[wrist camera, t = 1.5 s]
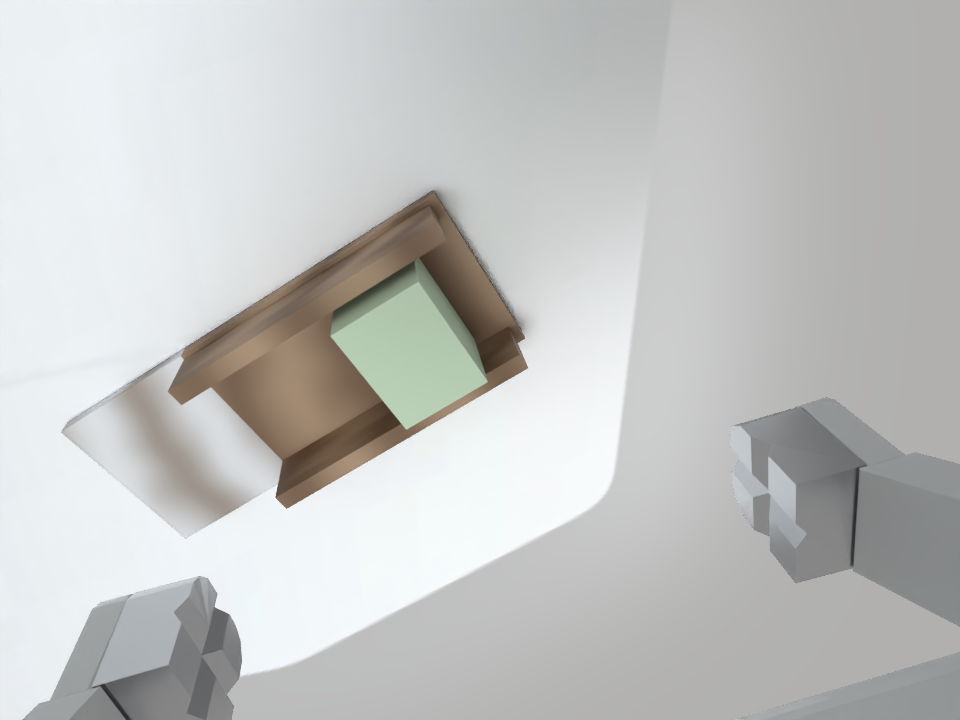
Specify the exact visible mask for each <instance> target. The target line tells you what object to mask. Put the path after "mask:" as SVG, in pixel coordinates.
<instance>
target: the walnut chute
mask: <svg viewBox="0 0 960 720" xmlns="http://www.w3.org/2000/svg"><path fill="white" fill-rule="evenodd" d="M418 258H420V260H421V261H422V263H423V264H424V266H425V267H426V269H427V270H428V272H429V273H430V274H431V276H432V277H433V279H434V280H435V282H436V283H437V285H438V286H439V288H440V289H441V291H442V292H443V294H444V295H445V297H446V298H447V299H448V301H449V302H450V304H451V305H452V307H453V308H454V310H455V311H456V313H457V314H458V316H459V317H460V319H461V320H462V322H463V323H464V325H465V326H466V327H467V329H468V330H469V332H470V333H471V335H472V336H473V338H474V339H475V342H476V345H477V349H478V352H479V355H480V358H481V361H482V365H483V368H484V371H485V374H486V377H487V380H488V382H487V383H485V384H484V385H482V386H480V387H479V388H477V389H475V390H473V391H472V392H470V393H468V394H467V395H465V396H463V397H461V398H460V399H458V400H456V401H455V402H453V403H451V404H450V405H448V406H446V407H444V408H443V409H441V410H439V411H438V412H436V413H434V414H432V415H431V416H429V417H427V418H426V419H424V420H422V421H420V422H419V423H417V424H415V425H414V426H412V427H410V428H408V429H407V430H406V429H405V427H404V426H403V425H402V424H401V423H400V421H399V420H398V419H397V418H396V416H395V415H394V414H393V413H392V411H391V410H390V409H389V408H388V407H387V405H386V404H385V403H384V402H383V400H382V399H381V398H380V397H379V395H378V394H377V393H376V392H375V391H374V389H373V388H372V387H371V386H370V384H369V383H368V382H367V381H366V379H365V378H364V377H363V376H362V375H361V373H360V372H359V371H358V370H357V368H356V367H355V366H354V365H353V363H352V362H351V361H350V360H349V359H348V357H347V356H346V355H345V354H344V352H343V351H342V350H341V349H340V347H339V346H338V345H337V344H336V343H335V341H334V340H333V339H332V338H331V336H330V334H331V325H332V316H333V311H334V310H336V309H337V308H339V307H341V306H342V305H344V304H345V303H347V302H349V301H350V300H352V299H353V298H355V297H357V296H358V295H360V294H361V293H363V292H365V291H366V290H368V289H369V288H371V287H373V286H374V285H376V284H378V283H379V282H381V281H382V280H384V279H386V278H387V277H389V276H390V275H392V274H394V273H395V272H397V271H398V270H400V269H402V268H403V267H405V266H406V265H408V264H410V263H411V262H413V261H415V260H416V259H418ZM523 339H525V337H524V335H523V333H522V331H521V329H520V327H519V326H518V324H517V323H516V321H515V320H514V318H513V316H512V315H511V313H510V312H509V310H508V308H507V307H506V305H505V304H504V302H503V300H502V299H501V297H500V296H499V294H498V293H497V291H496V289H495V288H494V286H493V285H492V283H491V281H490V280H489V278H488V277H487V275H486V274H485V272H484V270H483V269H482V267H481V266H480V264H479V262H478V261H477V259H476V258H475V256H474V254H473V253H472V251H471V250H470V248H469V247H468V245H467V243H466V242H465V240H464V239H463V237H462V235H461V234H460V232H459V231H458V229H457V227H456V226H455V224H454V223H453V221H452V220H451V218H450V216H449V215H448V213H447V212H446V210H445V208H444V207H443V205H442V204H441V202H440V201H439V199H438V197H437V196H436V194H435V193H434V191H431V192H430V193H428V194H427V195H425V196H424V197H422V198H420V199H419V200H417V201H416V202H414V203H413V204H411V205H409V206H408V207H406V208H405V209H403V210H402V211H400V212H398V213H397V214H395V215H394V216H392V217H391V218H389V219H387V220H386V221H384V222H383V223H381V224H379V225H378V226H376V227H375V228H373V229H372V230H370V231H368V232H367V233H365V234H364V235H362V236H361V237H359V238H357V239H356V240H354V241H353V242H351V243H350V244H348V245H346V246H345V247H343V248H342V249H340V250H339V251H337V252H335V253H334V254H332V255H331V256H329V257H328V258H326V259H324V260H323V261H321V262H320V263H318V264H316V265H315V266H313V267H312V268H310V269H309V270H307V271H305V272H304V273H302V274H301V275H299V276H298V277H296V278H294V279H293V280H291V281H290V282H288V283H287V284H285V285H283V286H282V287H280V288H279V289H277V290H276V291H274V292H272V293H271V294H269V295H268V296H266V297H265V298H263V299H261V300H260V301H258V302H257V303H255V304H253V305H252V306H250V307H249V308H247V309H246V310H244V311H242V312H241V313H239V314H238V315H236V316H235V317H233V318H231V319H230V320H228V321H227V322H225V323H224V324H222V325H220V326H219V327H217V328H216V329H214V330H213V331H211V332H209V333H208V334H206V335H205V336H203V337H202V338H200V339H198V340H197V341H195V342H194V343H192V344H190V345H189V346H187V347H186V348H184V349H183V350H181V351H179V352H178V353H176V354H175V355H173V356H172V357H170V358H168V359H167V360H165V361H164V362H162V363H161V364H159V365H157V366H156V367H154V368H153V369H151V370H150V371H148V372H146V373H145V374H143V375H142V376H140V377H139V378H137V379H135V380H134V381H132V382H131V383H129V384H127V385H126V386H124V387H123V388H121V389H120V390H118V391H116V392H115V393H113V394H112V395H110V396H109V397H107V398H105V399H104V400H102V401H101V402H99V403H98V404H96V405H94V406H93V407H91V408H90V409H88V410H87V411H85V412H83V413H82V414H80V415H79V416H77V417H76V418H74V419H72V420H71V421H69V422H68V423H67V424H66V426H65V427H64V428H63V430H62V431H61V433H62V434H64V435H65V436H66V437H67V438H68V439H69V440H71V441H72V442H73V443H74V444H75V445H76V446H78V447H79V448H80V449H81V450H82V451H83V452H85V453H86V454H87V455H88V456H89V457H91V458H92V459H93V460H94V461H95V462H96V463H98V464H99V465H100V466H101V467H102V468H103V469H105V470H106V471H107V472H108V473H109V474H110V475H112V476H113V477H114V478H115V479H116V480H117V481H119V482H120V483H121V484H122V485H123V486H124V487H126V488H127V489H128V490H129V491H130V492H131V493H133V494H134V495H135V496H136V497H137V498H138V499H140V500H141V501H142V502H143V503H144V504H145V505H147V506H148V507H149V508H150V509H151V510H153V511H154V512H155V513H156V514H157V515H158V516H160V517H161V518H162V519H163V520H164V521H165V522H167V523H168V524H169V525H170V526H171V527H172V528H174V529H175V530H176V531H177V532H178V533H179V534H181V535H182V536H183V537H184V538H185V539H186V538H188V537H189V536H191V535H193V534H194V533H196V532H198V531H200V530H201V529H203V528H205V527H206V526H208V525H210V524H211V523H213V522H215V521H216V520H218V519H220V518H222V517H223V516H225V515H227V514H228V513H230V512H232V511H233V510H235V509H237V508H239V507H240V506H242V505H244V504H245V503H247V502H249V501H250V500H252V499H254V498H255V497H257V496H259V495H261V494H262V493H264V492H266V491H267V490H269V489H271V488H272V487H274V486H276V485H278V487H277V492H276V499H277V500H278V501H279V502H280V503H281V504H282V505H283V506H284V507H285V508H286V509H287V508H289V507H291V506H292V505H294V504H296V503H297V502H299V501H301V500H303V499H304V498H306V497H308V496H309V495H311V494H313V493H315V492H316V491H318V490H320V489H321V488H323V487H325V486H327V485H328V484H330V483H332V482H333V481H335V480H337V479H339V478H340V477H342V476H344V475H345V474H347V473H349V472H351V471H352V470H354V469H356V468H357V467H359V466H361V465H363V464H364V463H366V462H368V461H370V460H371V459H373V458H375V457H376V456H378V455H380V454H382V453H383V452H385V451H387V450H388V449H390V448H392V447H394V446H395V445H397V444H399V443H400V442H402V441H404V440H406V439H407V438H409V437H411V436H412V435H414V434H416V433H418V432H419V431H421V430H423V429H424V428H426V427H428V426H430V425H431V424H433V423H435V422H436V421H438V420H440V419H442V418H443V417H445V416H447V415H448V414H450V413H452V412H454V411H455V410H457V409H459V408H460V407H462V406H464V405H466V404H467V403H469V402H471V401H472V400H474V399H476V398H478V397H479V396H481V395H483V394H484V393H486V392H488V391H490V390H491V389H493V388H495V387H496V386H498V385H500V384H502V383H503V382H505V381H507V380H508V379H510V378H512V377H514V376H515V375H517V374H519V373H520V372H522V371H524V370H526V369H527V368H528V366H527V364H526V362H525V359H524V357H523V355H522V353H521V350H520V348H519V346H518V342H520V341H522V340H523Z"/></svg>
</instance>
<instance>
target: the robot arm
mask: <svg viewBox="0 0 960 720" xmlns="http://www.w3.org/2000/svg"><path fill="white" fill-rule="evenodd" d="M730 448H731V449H732V451H733V452H734V453H735V454H736V455H737V456H738V458H739V460H738V462H737V464H736V465H735V467H734V468H733V470H732V481H733V490H734V493H735V496H736V499H737V501H738V505H739V507H740V509H741V511H742V513H743V515H744V516H745V518H746V520H747V521H748V522H749V523H750V525H751V526H752V528H753V529H754V530H756V531H758V532H761V533H763V534H765V535H768V536H770V551H771V552H772V554H773V555H774V556H775V557H776V559H777V560H778V561H779V563H780V564H781V565H782V566H783V568H784V569H785V570H786V571H787V573H788V574H789V575H790V576H791V578H792V579H793V580H794V582H795V583H798V582H802V581H806V580H810V579H813V578H817V577H821V576H825V575H829V574H833V573H836V572H840V571H844V570H848V569H851V568H853V571H854V572H856V573H858V574H860V575H862V576H864V577H866V578H867V579H869V580H871V581H873V582H875V583H877V584H879V585H881V586H883V587H885V588H887V589H889V590H891V591H892V592H894V593H896V594H898V595H900V596H902V597H904V598H906V599H908V600H910V601H911V602H913V603H915V604H917V605H919V606H921V607H923V608H925V609H927V610H929V611H931V612H933V613H934V614H936V615H938V616H940V617H942V618H944V619H946V620H948V621H950V622H952V623H954V624H956V625H957V626H959V627H960V464H957V463H954V462H950V461H946V460H942V459H938V458H935V457H931V456H927V455H924V454H920V453H916V452H915V453H911V454H908V455H905V454H903V453H902V452H901V451H900V450H898V449H897V448H896V447H895V446H893V445H892V444H891V443H890V442H888V441H887V440H886V439H884V438H883V437H882V436H880V435H879V434H878V433H877V432H875V431H874V430H873V429H872V428H870V427H869V426H868V425H867V424H865V423H864V422H863V421H861V420H860V419H859V418H858V417H856V416H855V415H854V414H853V413H851V412H850V411H849V410H848V409H846V408H845V407H844V406H842V405H841V404H840V403H839V402H837V401H836V400H834V399H831V398H827V397H826V398H823V399H819V400H816V401H813V402H810V403H806V404H803V405H800V406H797V407H795V408H794V409H789V410H786V411H783V412H779V413H776V414H772V415H769V416H765V417H762V418H759V419H755V420H751V421H748V422H745V423H741V424H737V425H734V426H732V429H731V432H730ZM216 598H217V592H216V591H215V589H214V588H213V586H212V584H211V583H210V581H209V580H208V578H205V577H201V576H198V577H194V578H190V579H186V580H183V581H179V582H175V583H171V584H167V585H163V586H159V587H156V588H152V589H148V590H144V591H140V592H136V593H134V594H131V595H126V596H123V597H119V598H115V599H111V600H108V601H104V602H101V603H100V604H98V605H97V606H96V607H94V608H93V609H92V611H91V613H90V615H89V617H88V619H87V621H86V624H85V626H84V628H83V630H82V632H81V634H80V637H79V639H78V641H77V643H76V645H75V647H74V650H73V652H72V654H71V656H70V658H69V660H68V663H67V665H66V667H65V669H64V671H63V673H62V676H61V678H60V680H59V682H58V684H57V686H56V689H55V691H54V693H53V695H52V697H51V699H50V701H47V702H43V703H40V704H38V705H37V706H36V707H35V708H34V709H33V710H32V711H31V712H30V713H29V714H28V715H27V716H26V717H25V718H24V719H23V720H231V719H232V713H233V708H234V705H233V704H232V702H231V701H230V699H229V697H228V696H227V693H228V692H229V691H230V690H231V688H232V687H233V686H234V684H235V683H236V682H237V681H238V679H239V676H240V670H241V663H242V655H241V641H240V638H239V635H238V631H237V628H236V625H235V624H234V622H233V620H232V618H231V616H230V615H229V614H227V613H225V612H223V611H221V610H219V609H217V608H215V607H214V606H215V602H216ZM735 720H960V652H959V653H956V654H952V655H949V656H945V657H942V658H939V659H935V660H932V661H929V662H925V663H922V664H918V665H916V666H912V667H909V668H905V669H902V670H899V671H895V672H892V673H888V674H886V675H882V676H878V677H875V678H872V679H869V680H865V681H862V682H858V683H855V684H852V685H848V686H845V687H842V688H838V689H835V690H831V691H829V692H825V693H822V694H818V695H815V696H811V697H808V698H805V699H802V700H798V701H795V702H791V703H788V704H785V705H782V706H778V707H775V708H772V709H768V710H765V711H762V712H758V713H755V714H752V715H748V716H745V717H742V718H738V719H735Z"/></svg>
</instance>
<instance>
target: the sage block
mask: <svg viewBox="0 0 960 720" xmlns="http://www.w3.org/2000/svg"><path fill="white" fill-rule="evenodd" d="M330 336H331V338H332V339H333V340H334V341H335V343H336V344H337V345H338V346H339V347H340V349H341V350H342V351H343V352H344V354H345V355H346V356H347V357H348V359H349V360H350V361H351V362H352V363H353V365H354V366H355V367H356V368H357V370H358V371H359V372H360V373H361V375H362V376H363V377H364V378H365V379H366V381H367V382H368V383H369V384H370V386H371V387H372V388H373V389H374V391H375V392H376V393H377V394H378V395H379V397H380V398H381V399H382V400H383V402H384V403H385V404H386V405H387V407H388V408H389V409H390V410H391V411H392V413H393V414H394V415H395V416H396V418H397V419H398V420H399V421H400V423H401V424H402V425H403V426H404V427H405V429H406V430H407V429H408V428H410V427H412V426H414V425H415V424H417V423H419V422H420V421H422V420H424V419H426V418H427V417H429V416H431V415H432V414H434V413H436V412H438V411H439V410H441V409H443V408H444V407H446V406H448V405H450V404H451V403H453V402H455V401H456V400H458V399H460V398H461V397H463V396H465V395H467V394H468V393H470V392H472V391H473V390H475V389H477V388H479V387H480V386H482V385H484V384H485V383H487V382H488V380H487V377H486V374H485V371H484V368H483V365H482V361H481V358H480V355H479V352H478V349H477V345H476V342H475V339H474V338H473V336H472V335H471V333H470V332H469V330H468V329H467V327H466V326H465V325H464V323H463V322H462V320H461V319H460V317H459V316H458V314H457V313H456V311H455V310H454V308H453V307H452V305H451V304H450V302H449V301H448V299H447V298H446V297H445V295H444V294H443V292H442V291H441V289H440V288H439V286H438V285H437V283H436V282H435V280H434V279H433V277H432V276H431V274H430V273H429V272H428V270H427V269H426V267H425V266H424V264H423V263H422V261H421V260H420V258H418V259H416V260H415V261H413V262H411V263H410V264H408V265H406V266H405V267H403V268H402V269H400V270H398V271H397V272H395V273H394V274H392V275H390V276H389V277H387V278H386V279H384V280H382V281H381V282H379V283H378V284H376V285H374V286H373V287H371V288H369V289H368V290H366V291H365V292H363V293H361V294H360V295H358V296H357V297H355V298H353V299H352V300H350V301H349V302H347V303H345V304H344V305H342V306H341V307H339V308H337V309H336V310H334V311H333V316H332V325H331V334H330Z"/></svg>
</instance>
